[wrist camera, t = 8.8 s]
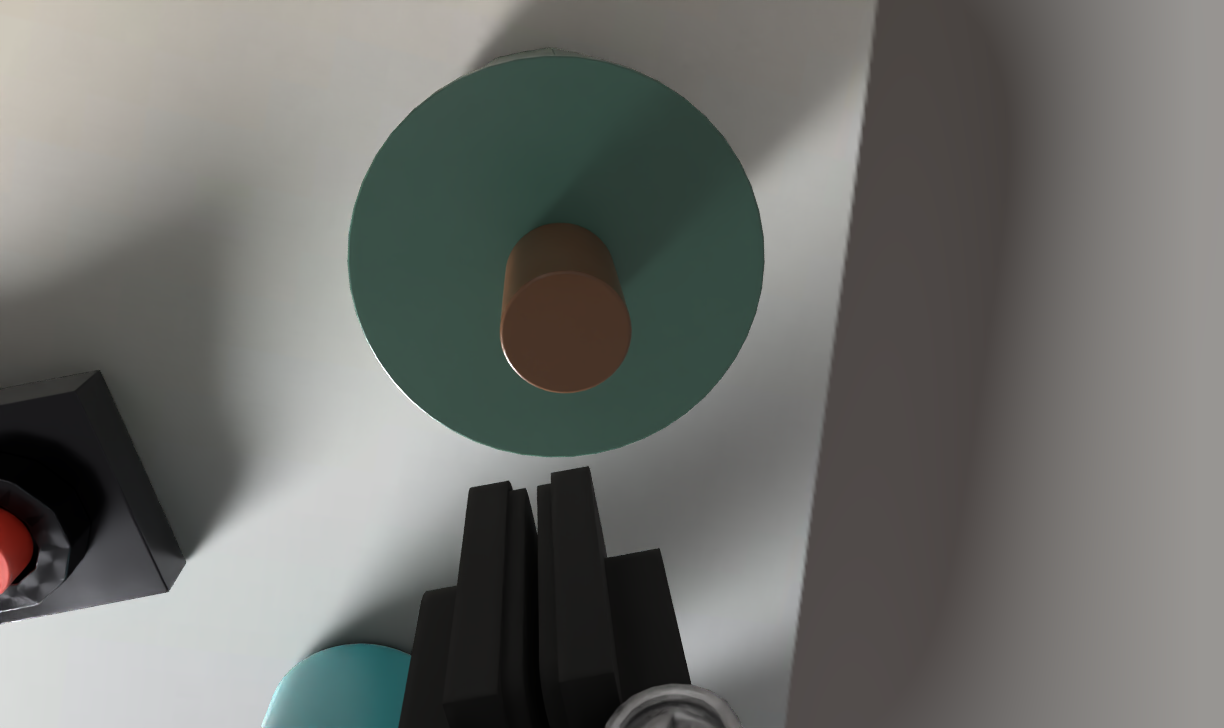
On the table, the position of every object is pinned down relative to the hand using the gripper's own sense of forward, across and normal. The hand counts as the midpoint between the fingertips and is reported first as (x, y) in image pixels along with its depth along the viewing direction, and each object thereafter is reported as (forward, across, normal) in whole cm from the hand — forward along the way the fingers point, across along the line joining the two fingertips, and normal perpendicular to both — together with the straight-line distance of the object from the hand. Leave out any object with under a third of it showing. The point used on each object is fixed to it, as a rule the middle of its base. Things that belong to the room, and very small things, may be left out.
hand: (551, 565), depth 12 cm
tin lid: (+13, 0, 0) cm, 13 cm away
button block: (+25, +24, +9) cm, 36 cm away
